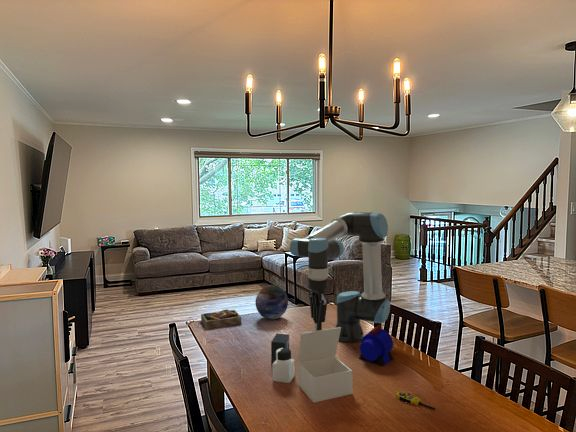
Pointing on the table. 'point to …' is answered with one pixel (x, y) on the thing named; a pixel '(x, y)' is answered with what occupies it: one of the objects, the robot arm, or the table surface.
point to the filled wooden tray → (220, 321)
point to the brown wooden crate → (221, 315)
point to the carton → (324, 379)
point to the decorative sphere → (271, 302)
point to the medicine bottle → (283, 366)
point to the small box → (278, 344)
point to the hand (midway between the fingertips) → (317, 338)
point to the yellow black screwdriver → (410, 399)
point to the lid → (318, 344)
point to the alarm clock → (377, 346)
